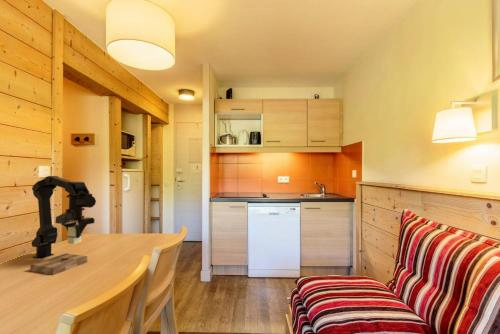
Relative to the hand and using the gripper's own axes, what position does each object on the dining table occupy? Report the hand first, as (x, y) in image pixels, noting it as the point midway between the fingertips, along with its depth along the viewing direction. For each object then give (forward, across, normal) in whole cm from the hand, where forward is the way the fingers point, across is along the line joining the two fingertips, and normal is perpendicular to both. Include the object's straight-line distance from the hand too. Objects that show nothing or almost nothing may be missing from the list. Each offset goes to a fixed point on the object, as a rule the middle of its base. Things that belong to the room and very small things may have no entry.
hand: (74, 237), depth 121 cm
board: (+12, 0, -7) cm, 14 cm away
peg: (+3, 0, 0) cm, 3 cm away
